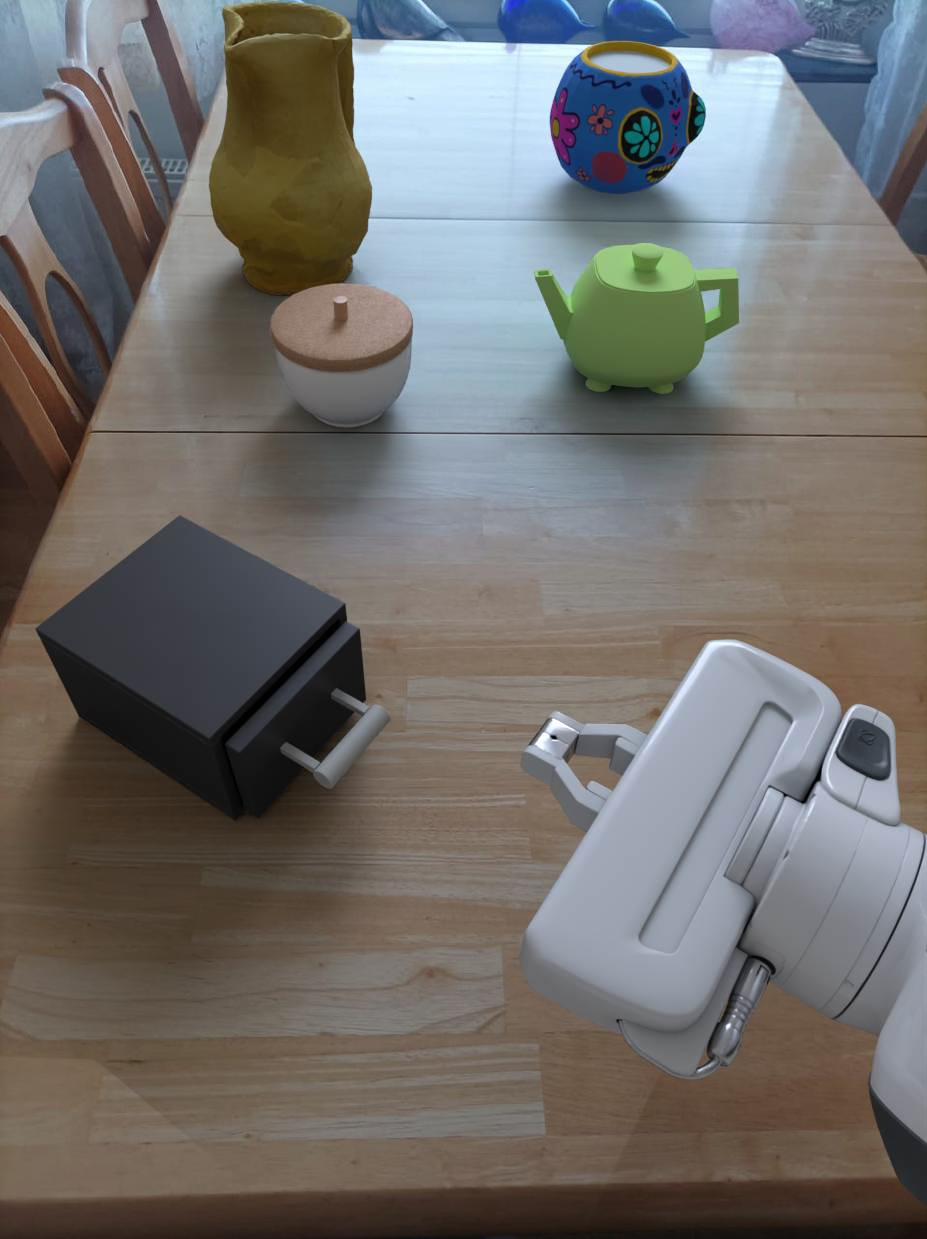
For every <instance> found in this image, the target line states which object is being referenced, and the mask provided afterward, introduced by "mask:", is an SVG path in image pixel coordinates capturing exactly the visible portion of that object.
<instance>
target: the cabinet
mask: <svg viewBox="0 0 927 1239" xmlns="http://www.w3.org/2000/svg"><path fill="white" fill-rule="evenodd" d="M345 621H347V622H348V614H347V605H346V603H345V601H343V600H341V599H339V598H337V597H335V596H333V595H332V594H329V593H328V592H325V591H323V590H322V589H320V588H318V587H316V586H315V585H312V584H311V583H308V581H305V580H303V579H301V578H299V577H298V576H295V575H293V574H292V573H291V572H288V571H286V570H284V569H282V568H280V567H278V566H277V565H275V564H272V563H271V562H269V561H267V560H265V559H263V558H262V557H259V556H258V555H256V554H254V553H252V552H250V551H248V550H246V549H244V548H243V547H241V546H239V545H237V544H235V543H233V542H231V541H229V540H228V539H226V538H224V537H222V536H220V535H218V534H216V533H215V532H213V531H211V530H209V529H207V528H205V527H203V526H201V525H200V524H197V523H195V522H194V521H192V520H191V519H188V518H186V517H184V516H182V515H181V514H180V515H178V516H176V517H175V518H174V519H172V520H171V521H170V522H169V523H167V524H166V525H165V526H164V527H162V528H161V529H160V530H159V531H157V532H156V533H155V534H154V535H152V536H151V537H149V539H147V540H146V541H144V542H143V543H142V544H141V545H139V546H138V547H137V548H136V549H134V550H133V551H132V552H131V553H129V554H128V555H127V556H125V557H124V558H123V559H122V560H120V561H119V562H117V564H115V565H114V566H112V568H110V569H109V570H108V571H106V572H105V573H104V574H102V575H101V576H100V577H99V578H97V579H96V580H94V582H92V583H91V584H90V585H88V587H86V588H85V589H83V590H82V591H81V592H80V593H78V594H77V595H76V596H75V597H73V598H72V599H70V600H69V601H68V602H67V603H65V604H64V605H63V606H62V607H60V608H59V609H58V610H57V611H55V612H54V613H53V614H51V615H50V616H48V618H46V619H45V620H44V621H42V622H41V623H40V624H39V625H37V626H36V627H35V629H34V630H35V632H36V634H37V635H38V637H39V639H40V641H41V644H42V645H43V647H44V650H45V652H46V653H47V656H48V658H49V659H50V662H51V663H52V664H51V665H53V667H54V669H55V672H56V673H57V675H58V677H59V680H60V682H61V684H62V686H63V688H64V689H65V692H66V693H67V696H68V698H69V700H70V702H71V704H72V706H73V708H74V709H75V712H76V715H77V716H78V718H79V719H81V720H83V721H84V722H86V723H87V724H89V725H90V726H91V727H93V728H95V729H96V730H97V731H99V732H101V733H102V734H104V735H105V736H107V737H108V738H110V739H111V740H112V741H114V742H116V744H119V745H120V746H121V747H123V748H125V749H126V750H128V751H129V752H131V753H132V754H134V756H135V755H136V756H137V757H138V758H139V759H142V760H143V761H144V762H146V763H147V764H149V765H150V766H152V767H154V768H155V769H156V770H158V771H159V772H161V773H162V774H163V775H165V776H166V777H168V778H170V779H171V780H173V781H174V782H176V783H178V784H179V785H180V786H182V787H184V788H185V789H186V790H188V791H189V792H191V793H192V794H194V795H195V796H197V797H198V798H200V799H201V800H203V801H204V802H206V803H207V804H209V805H210V806H212V807H214V808H215V809H216V810H218V811H219V812H221V813H222V814H224V815H226V816H227V817H228V818H230V819H232V820H233V821H234V822H237V821H238V820H239V819H240V818H241V817H242V815H243V814H245V812H246V811H245V809H244V806H243V803H242V799H241V796H240V793H239V789H238V788H237V789H236V786H235V783H234V779H233V776H232V773H231V770H230V766H229V763H228V760H227V757H226V753H225V750H224V747H223V744H222V740H221V738H220V737H221V736H222V735H223V734H224V733H225V732H226V731H227V730H228V729H229V728H230V727H231V726H232V725H233V724H234V723H235V722H236V721H237V720H238V719H239V718H240V717H241V716H242V715H243V714H244V713H245V712H246V711H247V710H248V709H249V708H250V707H251V706H252V705H253V704H254V703H255V702H256V701H257V700H258V699H259V698H260V697H261V696H262V695H263V694H264V693H265V692H266V691H267V690H268V689H269V688H270V687H271V686H272V685H273V684H274V683H275V682H276V681H277V680H278V679H279V678H280V677H281V676H282V675H283V674H284V673H285V672H286V671H287V670H288V669H289V668H290V667H291V666H292V665H293V664H294V663H295V662H296V661H297V660H298V659H299V658H300V657H301V656H302V655H303V654H304V653H305V652H306V651H307V650H308V649H309V648H310V647H311V646H312V645H313V644H314V643H315V642H316V641H317V640H318V639H319V638H320V637H321V636H322V635H323V634H325V641H326V640H327V639H328V638H329V637H330V636H331V635H332V634H333V633H334V632H335V631H336V630H337V629H338V628H339V627H340V626H341V625H342V624H343V623H344V622H345Z"/></svg>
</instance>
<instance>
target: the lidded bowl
mask: <svg viewBox="0 0 927 1239" xmlns="http://www.w3.org/2000/svg"><path fill="white" fill-rule="evenodd" d="M269 331H270V338H271V340H272V343H273V347H274V353H275V358H276V363H277V366H278V370H279V373H280V376H281V378H282V380H283V383H284V386H285V387H286V389H287V390H288V392H289V393H290V395H291V397H292V398H293V400H294V401H295V402H296V403H298V404H299V406H300V407H301V408H303V409H304V410H305V411H307V412H308V413H309V414H311V415H312V416H314V417H315V418H316V419H317V420H319V421H320V422H322V423H324V424H326V425H329V426H332V427H336V428H348V429H349V428H357V427H362V426H366V425H368V424H371V423H373V422H374V421H376V420H378V419H379V418H380V417H381V416H382V415H383V414H384V412H385V411H387V410H388V409H389V408H390V407H392V405H393V404H394V403H395V402H396V401H397V400H398V398H399V397H400V395H401V393H402V392H403V389H404V388H405V386H406V383H407V380H408V377H409V373H410V369H411V361H412V348H413V347H412V346H413V345H412V344H413V334H414V317H413V314H412V312H411V310H410V309H409V307H408V306H407V305H406V304H405V303H404V301H403V300H402V299H401V298H399V297H398V296H396V295H395V294H394V293H391V292H390V291H387V290H384V289H382V288H380V287H379V288H378V287H375V286H371V285H366V284H360V283H344V282H339V283H338V284H328V285H321V286H317V287H312V288H309V289H306V290H303V291H300V292H298V293H296V294H292V295H290V296H289V297H287V298H286V299H284V300H283V301H282V302H281V303H280V304H278V306H277V307H276V308H275V309H274V311H273V313H272V315H271V317H270V321H269Z"/></svg>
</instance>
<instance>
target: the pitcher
mask: <svg viewBox="0 0 927 1239" xmlns="http://www.w3.org/2000/svg"><path fill="white" fill-rule="evenodd" d="M221 16H222V20H223V24H224V41H225V42H224V44H223V52H224V55H225V56H224V68H225V86H226V92H227V96H226V98H227V99H226V112H225V121H224V124H223V131H222V134H221V138H220V141H219V145H218V147H217V148H216V151H215V154H214V156H213V158H212V162H211V166H210V170H209V175H208V190H209V196H210V207H211V211H212V212H211V213H212V217H213V221H214V223H215V227H217V229H218V230H219V232H220V233H221V234H222V236H223V237H224V238H225V239H227V240H228V242H230V243H231V244H232V245H234V246H235V247H236V248H237V250H238V253H239V256H240V257H241V258H242V260H243V262H242V264H241V267H242V270H241V272H242V273H243V274H244V276H245V279H246V281H247V283H248V284H250V285H251V286H252V287H254V288H256V290H259V291H261V292H263V293H267V294H270V295H271V296H275V295H276V296H283V295H285V296H286V295H290V296H292V295H294V294H296V293H298V292H300V291H303V290H306V289H309V288H312V287H317V286H321V285H328V284H339V283H344V281H346V279H348V278H349V277H350V276H351V275H350V274H351V273H352V270H353V269H354V268H353V263H354V259H353V256H354V255H356V254H357V253H358V251H359V249H360V248H361V245H362V243H363V241H364V239H365V237H366V235H367V234H368V231H369V219H370V214H371V207H372V202H373V186H372V182H371V180H370V175H369V172H368V168H367V166H366V163H365V161H364V159H363V157H362V155H361V153H360V151H359V149H358V148H357V146H356V142H355V138H354V126H355V106H354V105H355V95H354V94H355V93H354V92H355V90H354V82H355V65H354V59H353V48H354V47H353V46H354V45H353V44H354V42H353V33H352V27H351V23H350V22H349V20H348V19H347V17H346V16H345V15H343V14H340V13H339V12H335V11H333V10H331V9H328V8H326V7H324V6H321V5H316V4H311V3H307V2H297V1H283V0H268V1H260V0H259V1H258V0H257V1H251V2H241V3H236V4H231V5H229V4H228V5H224V6H222V13H221ZM349 279H350V278H349Z"/></svg>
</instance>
